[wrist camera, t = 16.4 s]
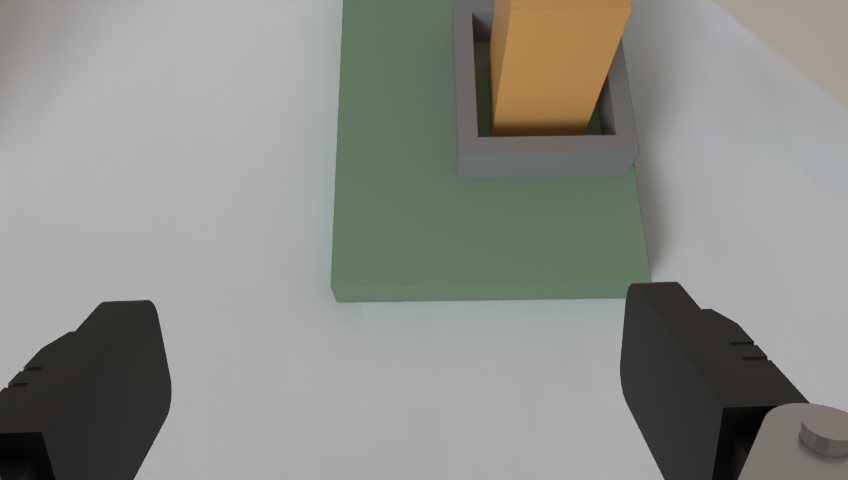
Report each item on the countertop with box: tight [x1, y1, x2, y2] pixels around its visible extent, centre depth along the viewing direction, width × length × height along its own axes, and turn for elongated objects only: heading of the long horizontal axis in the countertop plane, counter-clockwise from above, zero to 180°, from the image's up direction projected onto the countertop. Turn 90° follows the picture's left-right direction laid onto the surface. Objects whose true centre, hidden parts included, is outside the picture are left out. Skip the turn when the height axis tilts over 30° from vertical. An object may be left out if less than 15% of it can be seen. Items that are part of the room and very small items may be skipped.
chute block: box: [488, 0, 632, 137], centre depth 34 cm, size 5×5×10 cm
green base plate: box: [331, 0, 651, 302], centre depth 39 cm, size 22×16×5 cm
